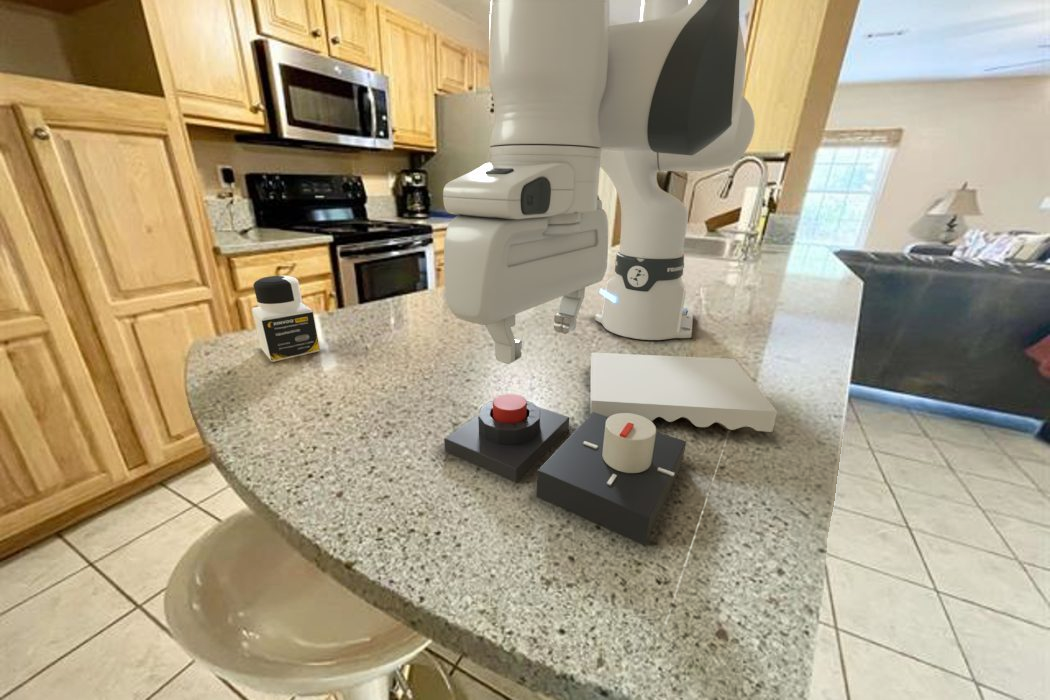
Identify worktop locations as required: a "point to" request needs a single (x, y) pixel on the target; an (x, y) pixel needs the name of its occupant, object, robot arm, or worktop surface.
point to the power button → (509, 408)
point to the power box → (507, 440)
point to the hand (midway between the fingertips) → (539, 344)
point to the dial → (628, 442)
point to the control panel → (609, 481)
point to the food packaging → (679, 390)
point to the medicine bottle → (283, 319)
